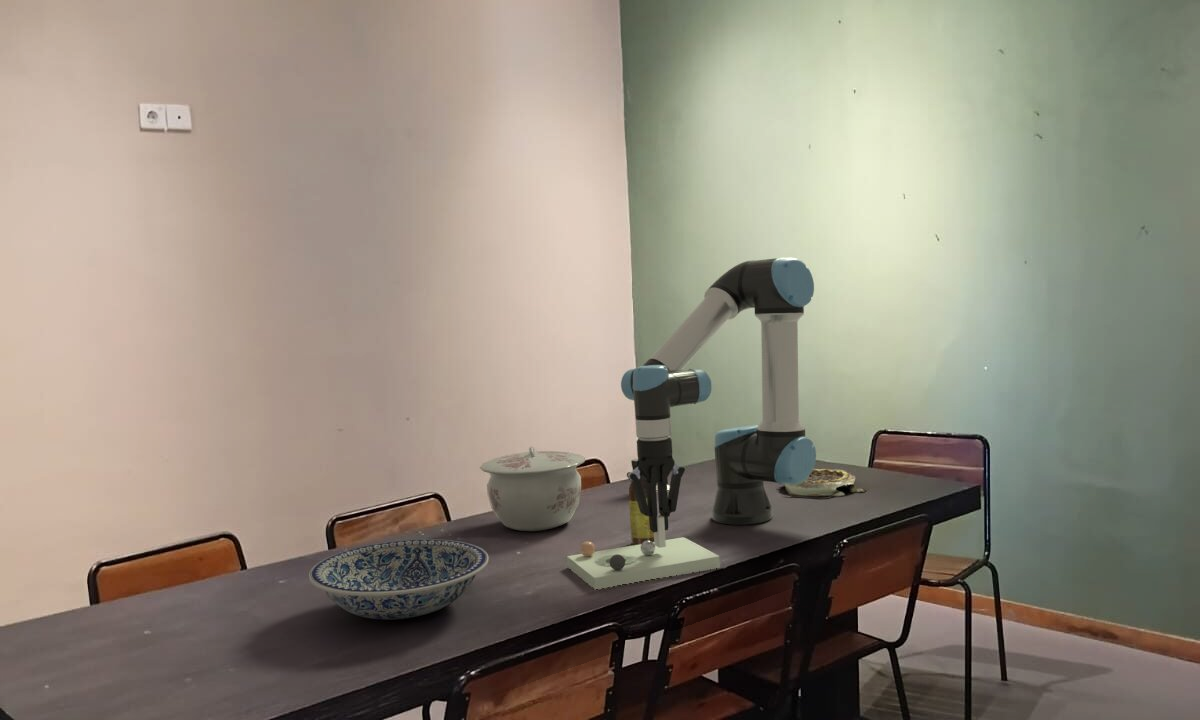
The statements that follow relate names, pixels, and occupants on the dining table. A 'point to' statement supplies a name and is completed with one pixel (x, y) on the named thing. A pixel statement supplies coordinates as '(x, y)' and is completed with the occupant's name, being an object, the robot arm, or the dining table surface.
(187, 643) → the dining table surface
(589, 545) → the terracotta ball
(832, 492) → the pie
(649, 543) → the steel ball
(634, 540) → the sauce bottle
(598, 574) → the board
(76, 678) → the dining table surface
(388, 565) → the ceramic bowl
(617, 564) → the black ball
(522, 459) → the chamber pot
